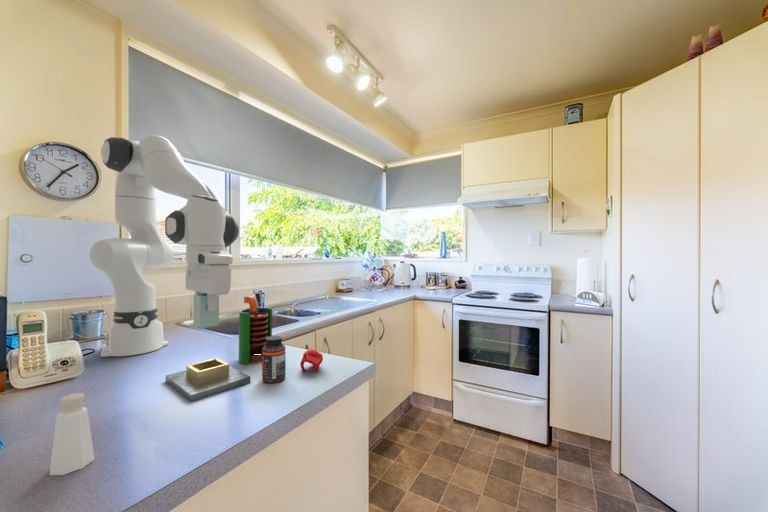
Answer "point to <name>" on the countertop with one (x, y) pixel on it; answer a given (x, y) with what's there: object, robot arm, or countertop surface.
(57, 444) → the salt shaker
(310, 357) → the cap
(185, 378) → the mounting plate
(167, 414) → the countertop surface
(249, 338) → the motor
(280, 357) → the supplement bottle
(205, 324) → the pale green flat box
